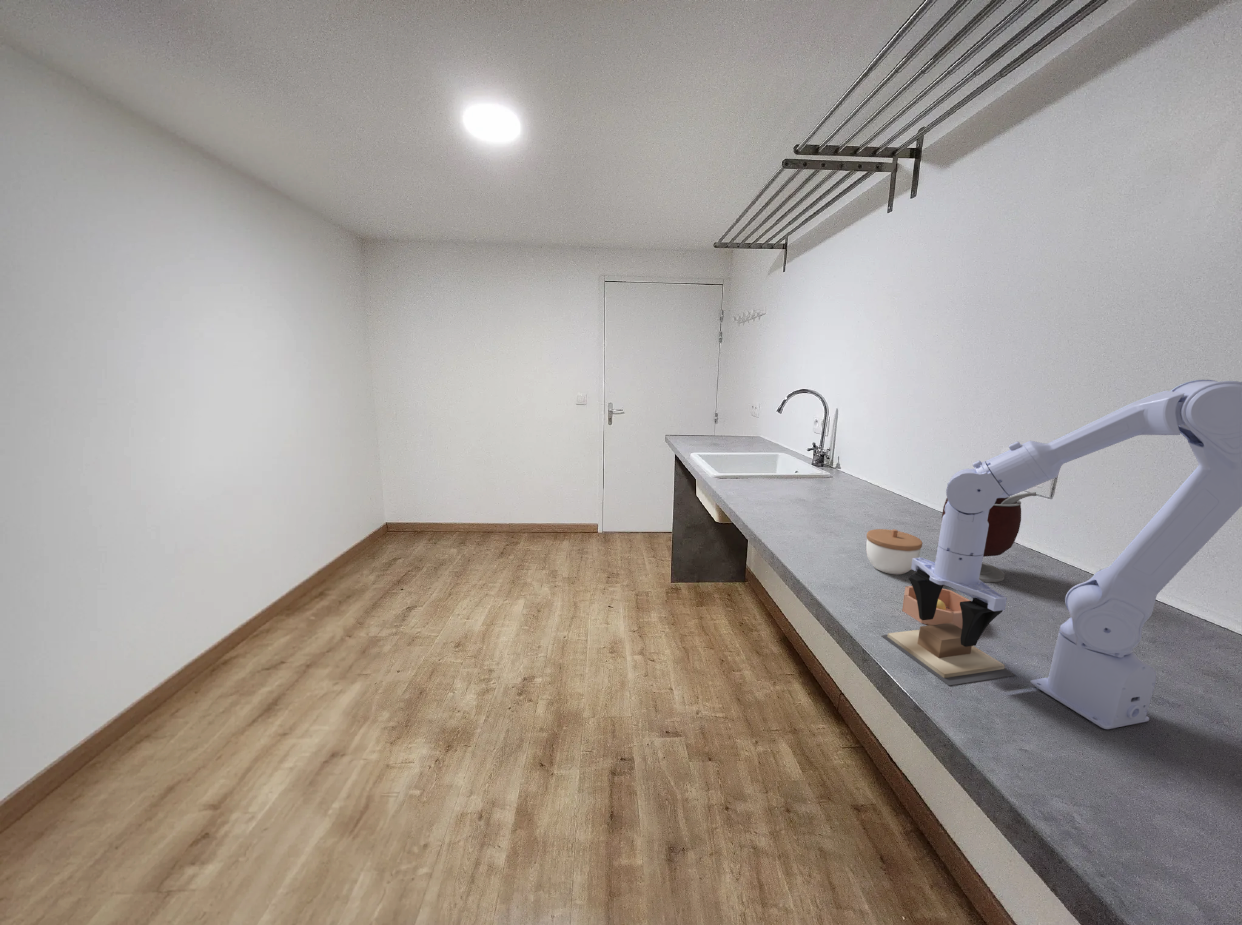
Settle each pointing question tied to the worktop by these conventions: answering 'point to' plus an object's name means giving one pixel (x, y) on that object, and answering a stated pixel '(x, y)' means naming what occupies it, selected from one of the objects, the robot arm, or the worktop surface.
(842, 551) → the worktop surface
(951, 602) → the bowl
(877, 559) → the lidded jar
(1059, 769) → the worktop surface
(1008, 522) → the mate gourd
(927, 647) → the cover
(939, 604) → the ball
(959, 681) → the mat
